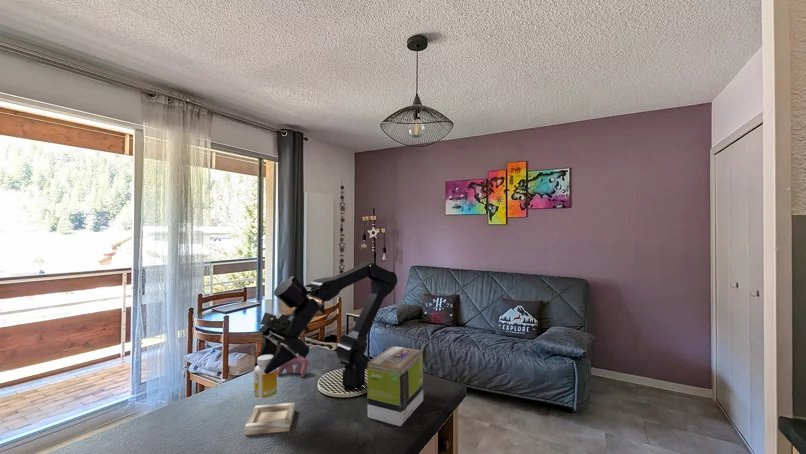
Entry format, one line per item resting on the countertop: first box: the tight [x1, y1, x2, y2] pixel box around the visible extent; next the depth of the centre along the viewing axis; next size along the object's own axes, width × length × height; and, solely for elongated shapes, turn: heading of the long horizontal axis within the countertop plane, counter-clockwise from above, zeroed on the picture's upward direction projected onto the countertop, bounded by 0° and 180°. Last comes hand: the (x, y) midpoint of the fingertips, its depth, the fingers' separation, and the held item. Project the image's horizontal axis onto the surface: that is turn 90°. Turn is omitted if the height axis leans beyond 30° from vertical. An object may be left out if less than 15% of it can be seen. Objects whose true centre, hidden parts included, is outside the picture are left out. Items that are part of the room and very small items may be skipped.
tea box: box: [366, 345, 424, 427], centre depth 92 cm, size 15×10×15 cm
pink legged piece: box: [277, 354, 310, 378], centre depth 115 cm, size 10×5×7 cm, turn 84°
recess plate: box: [244, 402, 296, 436], centre depth 85 cm, size 10×10×2 cm
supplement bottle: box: [253, 355, 278, 401], centre depth 86 cm, size 5×5×10 cm
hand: (260, 369), depth 85 cm, fingers closed on supplement bottle, 5 cm apart
